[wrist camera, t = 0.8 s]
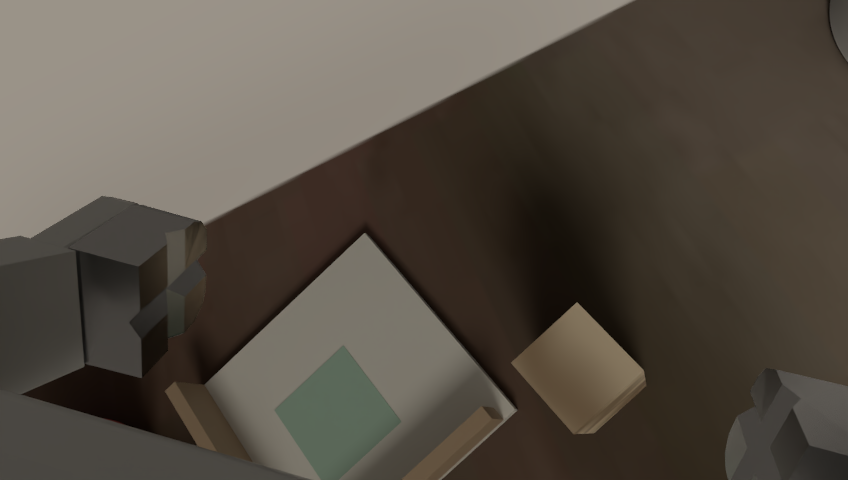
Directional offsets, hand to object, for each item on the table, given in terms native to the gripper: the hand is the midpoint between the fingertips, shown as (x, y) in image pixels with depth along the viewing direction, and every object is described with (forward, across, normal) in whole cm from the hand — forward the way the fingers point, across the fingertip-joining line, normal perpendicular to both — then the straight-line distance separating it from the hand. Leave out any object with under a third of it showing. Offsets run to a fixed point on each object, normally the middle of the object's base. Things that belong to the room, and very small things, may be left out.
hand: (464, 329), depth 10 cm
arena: (+29, +7, +28) cm, 41 cm away
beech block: (+29, -9, +21) cm, 37 cm away
